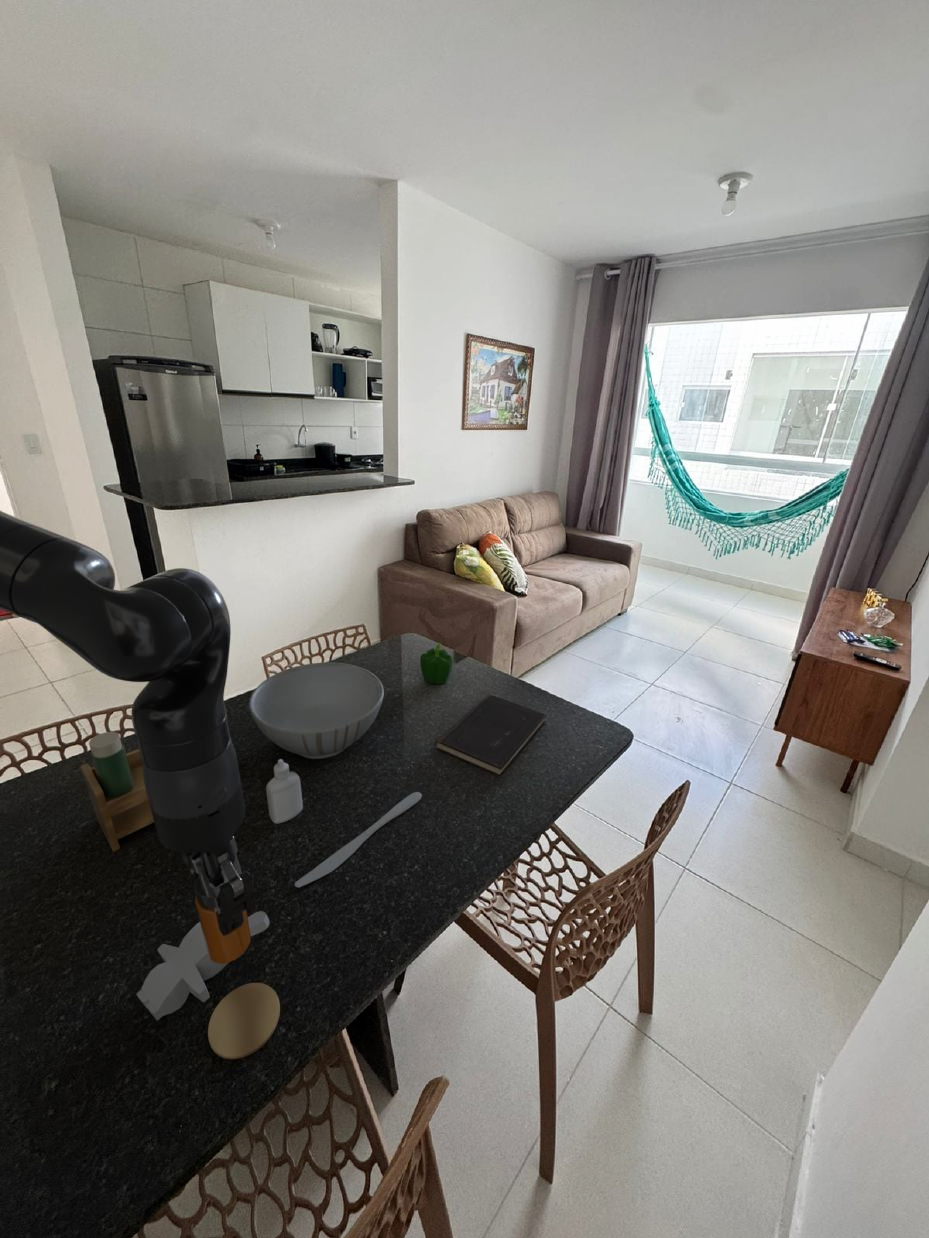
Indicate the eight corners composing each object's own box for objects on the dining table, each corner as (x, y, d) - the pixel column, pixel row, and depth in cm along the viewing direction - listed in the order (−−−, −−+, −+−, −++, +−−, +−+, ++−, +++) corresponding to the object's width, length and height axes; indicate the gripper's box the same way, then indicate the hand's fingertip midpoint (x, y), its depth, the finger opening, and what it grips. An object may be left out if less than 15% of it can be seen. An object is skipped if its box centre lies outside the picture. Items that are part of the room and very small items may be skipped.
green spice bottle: (107, 802, 82) (91, 751, 78) (99, 788, 84) (84, 738, 80) (137, 789, 85) (124, 739, 80) (129, 775, 87) (116, 727, 83)
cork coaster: (226, 1077, 57) (225, 1074, 56) (197, 1019, 61) (196, 1017, 61) (292, 1020, 62) (292, 1017, 62) (261, 971, 67) (260, 969, 67)
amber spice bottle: (217, 972, 53) (202, 906, 49) (200, 943, 56) (185, 878, 52) (258, 943, 56) (247, 879, 52) (240, 916, 59) (228, 853, 55)
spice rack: (113, 852, 82) (95, 794, 78) (97, 821, 88) (80, 765, 83) (236, 791, 96) (227, 739, 91) (216, 768, 102) (206, 717, 97)
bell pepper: (439, 692, 131) (440, 657, 127) (414, 681, 135) (414, 648, 131) (457, 678, 138) (459, 645, 134) (433, 669, 142) (434, 637, 138)
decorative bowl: (343, 798, 96) (340, 746, 91) (227, 763, 103) (218, 712, 98) (404, 721, 119) (404, 676, 114) (305, 696, 126) (301, 653, 122)
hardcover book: (545, 722, 121) (546, 714, 120) (500, 777, 103) (501, 768, 102) (486, 701, 129) (487, 693, 128) (434, 748, 110) (435, 740, 109)
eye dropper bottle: (303, 820, 90) (297, 766, 86) (269, 825, 89) (261, 771, 84) (303, 802, 94) (297, 750, 89) (271, 807, 93) (263, 754, 88)
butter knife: (427, 797, 96) (416, 789, 98) (302, 893, 77) (290, 880, 79) (427, 799, 96) (415, 791, 98) (302, 895, 77) (291, 883, 79)
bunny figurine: (119, 973, 62) (228, 876, 73) (133, 994, 65) (237, 898, 75) (162, 1023, 57) (271, 912, 68) (175, 1044, 60) (279, 933, 71)
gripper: (125, 765, 49) (159, 890, 56) (181, 854, 40) (214, 989, 47) (205, 733, 54) (228, 851, 61) (272, 806, 45) (289, 934, 52)
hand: (221, 911), depth 54 cm, fingers closed on amber spice bottle, 4 cm apart
